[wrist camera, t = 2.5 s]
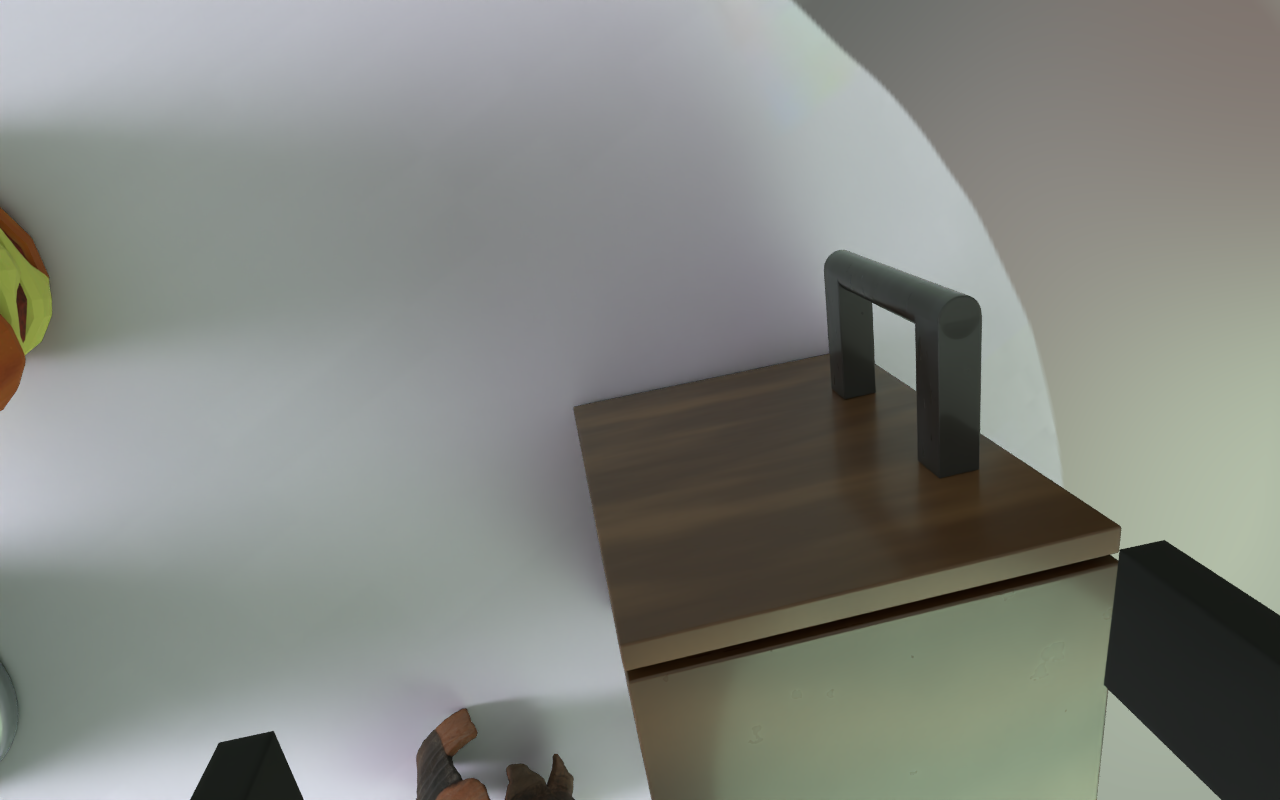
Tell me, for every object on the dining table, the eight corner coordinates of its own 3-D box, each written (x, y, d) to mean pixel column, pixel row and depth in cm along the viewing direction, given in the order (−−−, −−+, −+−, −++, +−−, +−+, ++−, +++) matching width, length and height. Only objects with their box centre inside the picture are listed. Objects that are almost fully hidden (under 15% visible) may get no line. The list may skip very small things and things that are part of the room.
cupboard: (577, 426, 40) (626, 682, 21) (852, 368, 41) (1122, 562, 23) (616, 616, 45) (685, 959, 26) (862, 558, 46) (1093, 846, 28)
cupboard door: (547, 284, 37) (574, 437, 19) (846, 226, 38) (1144, 316, 20) (576, 422, 40) (624, 672, 21) (853, 364, 41) (1120, 553, 23)
